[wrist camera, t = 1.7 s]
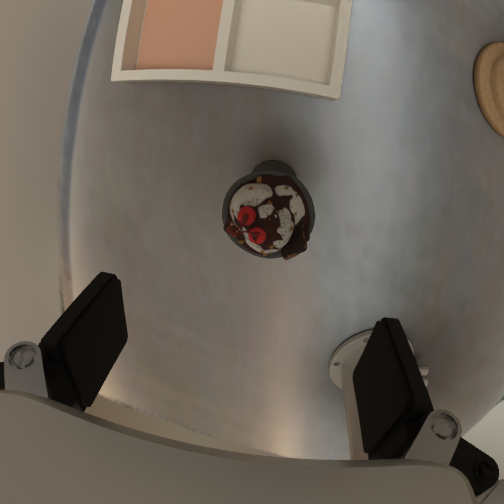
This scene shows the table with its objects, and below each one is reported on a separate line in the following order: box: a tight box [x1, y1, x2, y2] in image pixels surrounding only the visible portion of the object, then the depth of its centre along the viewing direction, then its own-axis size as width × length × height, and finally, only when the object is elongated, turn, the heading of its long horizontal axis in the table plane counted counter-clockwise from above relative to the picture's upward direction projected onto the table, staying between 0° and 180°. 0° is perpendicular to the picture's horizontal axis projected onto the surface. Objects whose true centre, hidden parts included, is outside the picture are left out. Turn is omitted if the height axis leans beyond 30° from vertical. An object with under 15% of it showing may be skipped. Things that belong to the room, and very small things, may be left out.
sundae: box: [222, 160, 315, 260], centre depth 24 cm, size 7×7×15 cm
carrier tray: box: [111, 0, 352, 101], centre depth 23 cm, size 21×11×4 cm, turn 83°
